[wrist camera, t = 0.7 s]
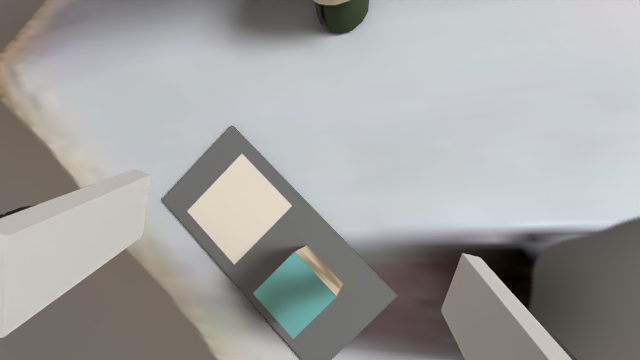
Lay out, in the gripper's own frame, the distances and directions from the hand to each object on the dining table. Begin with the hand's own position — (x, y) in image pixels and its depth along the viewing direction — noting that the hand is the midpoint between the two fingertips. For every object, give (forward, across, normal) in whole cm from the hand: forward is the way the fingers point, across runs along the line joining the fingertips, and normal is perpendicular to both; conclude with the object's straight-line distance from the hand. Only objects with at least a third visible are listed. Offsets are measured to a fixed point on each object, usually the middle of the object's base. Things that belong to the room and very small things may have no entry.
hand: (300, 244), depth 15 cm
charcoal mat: (+26, +3, +12) cm, 29 cm away
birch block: (+24, -2, +15) cm, 28 cm away
